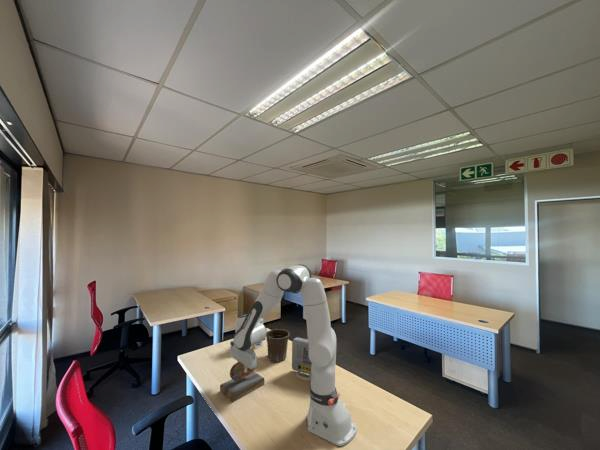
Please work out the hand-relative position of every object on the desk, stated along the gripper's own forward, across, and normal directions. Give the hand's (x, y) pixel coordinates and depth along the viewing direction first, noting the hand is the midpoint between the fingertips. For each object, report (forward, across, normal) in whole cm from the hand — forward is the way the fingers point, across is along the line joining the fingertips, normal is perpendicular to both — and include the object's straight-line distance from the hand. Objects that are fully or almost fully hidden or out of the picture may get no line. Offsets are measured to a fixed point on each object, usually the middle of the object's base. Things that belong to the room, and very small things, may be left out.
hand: (242, 370), depth 134 cm
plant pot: (+10, +11, -35) cm, 38 cm away
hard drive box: (+10, +35, -32) cm, 48 cm away
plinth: (+9, 0, 0) cm, 9 cm away
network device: (+10, -20, -35) cm, 41 cm away
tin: (+3, 0, 0) cm, 3 cm away
